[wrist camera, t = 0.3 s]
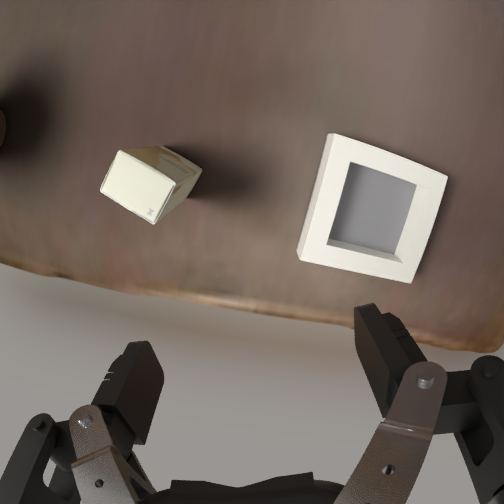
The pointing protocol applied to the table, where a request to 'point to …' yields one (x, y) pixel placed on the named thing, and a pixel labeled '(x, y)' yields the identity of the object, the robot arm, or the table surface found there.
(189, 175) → the skincare box
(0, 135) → the plant pot
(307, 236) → the holder
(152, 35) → the table surface
